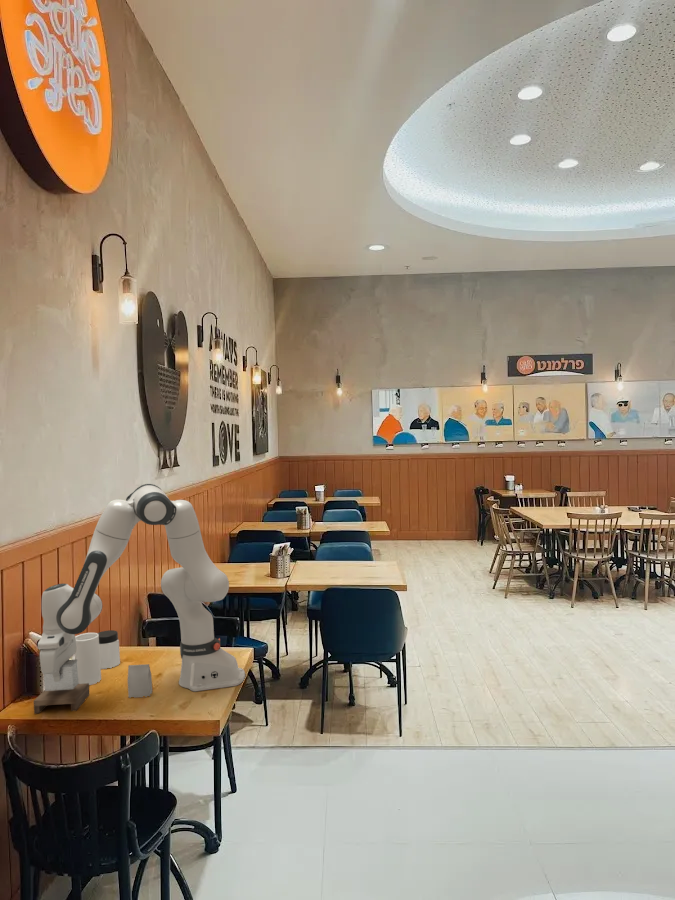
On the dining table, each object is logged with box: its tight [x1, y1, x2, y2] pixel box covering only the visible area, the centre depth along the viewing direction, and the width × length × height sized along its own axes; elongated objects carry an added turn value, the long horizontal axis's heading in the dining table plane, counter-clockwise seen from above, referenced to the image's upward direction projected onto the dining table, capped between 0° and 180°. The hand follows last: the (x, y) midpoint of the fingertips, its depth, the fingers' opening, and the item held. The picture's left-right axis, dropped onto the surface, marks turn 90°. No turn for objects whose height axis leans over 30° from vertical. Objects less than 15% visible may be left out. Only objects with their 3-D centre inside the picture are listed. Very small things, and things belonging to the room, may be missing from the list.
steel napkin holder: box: [43, 659, 79, 691], centre depth 207 cm, size 9×5×8 cm, turn 92°
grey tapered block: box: [127, 664, 153, 699], centre depth 211 cm, size 4×7×10 cm, turn 91°
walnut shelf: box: [33, 683, 91, 714], centre depth 207 cm, size 13×12×4 cm
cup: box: [74, 632, 102, 686], centre depth 225 cm, size 8×8×16 cm
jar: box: [97, 629, 121, 670], centre depth 241 cm, size 9×8×12 cm
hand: (61, 677), depth 207 cm, fingers closed on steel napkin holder, 4 cm apart
